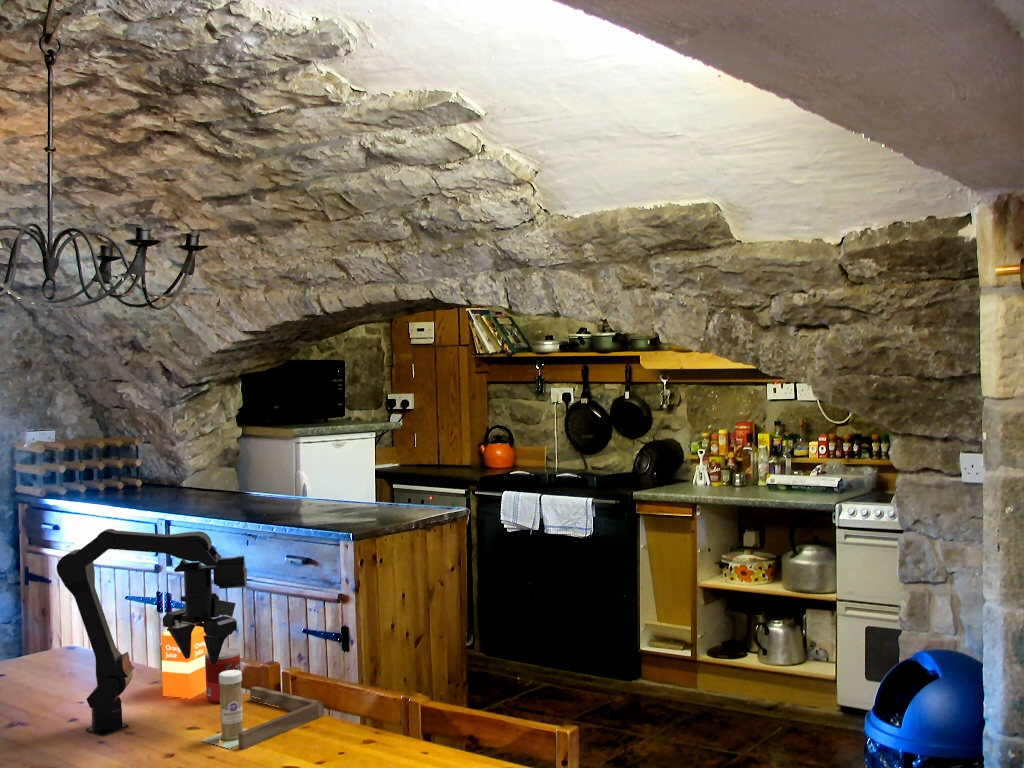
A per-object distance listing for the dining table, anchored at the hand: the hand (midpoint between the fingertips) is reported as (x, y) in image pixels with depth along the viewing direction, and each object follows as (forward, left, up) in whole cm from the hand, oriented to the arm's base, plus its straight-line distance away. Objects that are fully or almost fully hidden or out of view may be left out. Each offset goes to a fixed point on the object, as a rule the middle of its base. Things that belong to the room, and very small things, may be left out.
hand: (200, 661), depth 209 cm
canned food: (-8, +12, -13) cm, 20 cm away
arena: (+10, +4, -13) cm, 17 cm away
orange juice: (-20, +11, -13) cm, 26 cm away
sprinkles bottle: (+14, -4, -13) cm, 20 cm away
